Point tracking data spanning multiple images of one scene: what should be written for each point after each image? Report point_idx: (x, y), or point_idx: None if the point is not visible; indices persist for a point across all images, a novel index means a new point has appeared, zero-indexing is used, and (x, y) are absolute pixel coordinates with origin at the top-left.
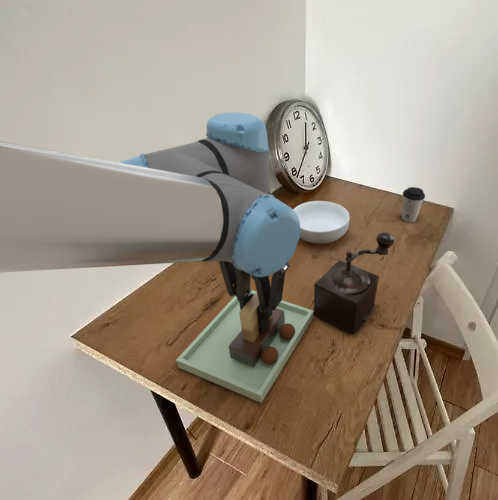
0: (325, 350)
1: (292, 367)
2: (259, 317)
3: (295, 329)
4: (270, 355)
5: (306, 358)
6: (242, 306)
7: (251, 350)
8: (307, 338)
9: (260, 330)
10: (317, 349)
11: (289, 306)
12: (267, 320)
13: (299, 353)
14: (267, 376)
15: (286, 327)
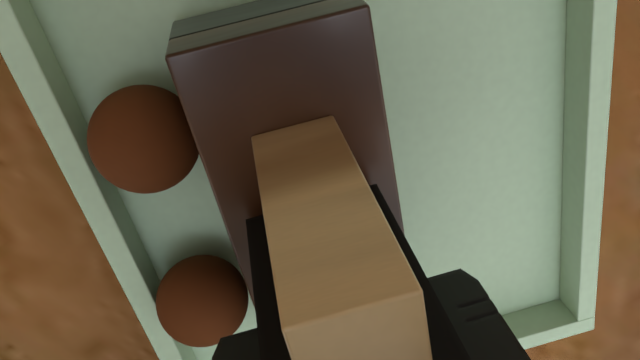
0: (4, 327)
1: (38, 165)
2: (271, 333)
3: None
4: (105, 140)
5: (33, 244)
6: (472, 319)
7: (203, 84)
8: (131, 318)
9: (260, 233)
10: (39, 309)
11: None
12: (224, 339)
13: (86, 242)
14: (68, 33)
15: (197, 325)
